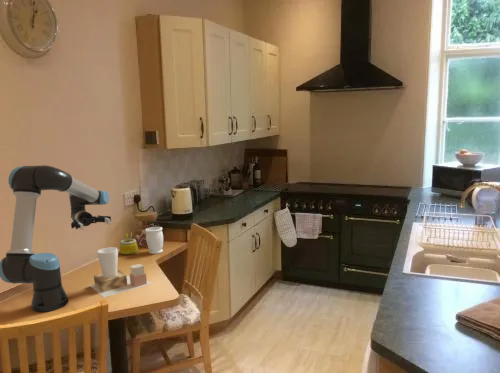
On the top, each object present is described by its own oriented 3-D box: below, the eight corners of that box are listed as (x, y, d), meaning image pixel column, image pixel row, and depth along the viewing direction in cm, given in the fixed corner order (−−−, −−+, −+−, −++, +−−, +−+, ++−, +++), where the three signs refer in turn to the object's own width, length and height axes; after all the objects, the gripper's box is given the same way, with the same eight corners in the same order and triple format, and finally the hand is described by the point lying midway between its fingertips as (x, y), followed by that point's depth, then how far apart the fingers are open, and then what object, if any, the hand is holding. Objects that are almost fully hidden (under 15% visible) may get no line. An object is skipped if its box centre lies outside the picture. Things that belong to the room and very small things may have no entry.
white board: (103, 300, 199) (103, 297, 199) (90, 288, 215) (90, 285, 215) (152, 286, 213) (152, 283, 213) (136, 276, 229) (136, 273, 229)
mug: (133, 255, 266) (131, 236, 264) (117, 255, 268) (115, 236, 266) (142, 249, 278) (140, 231, 276) (127, 249, 280) (125, 231, 278)
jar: (160, 254, 264) (158, 230, 262) (144, 254, 266) (142, 230, 264) (167, 249, 274) (165, 226, 272) (151, 249, 276) (149, 226, 274)
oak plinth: (102, 292, 205) (101, 281, 205) (94, 285, 215) (93, 275, 214) (127, 285, 212) (126, 275, 212) (118, 278, 222) (117, 269, 221)
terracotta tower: (135, 286, 210) (133, 268, 208) (130, 283, 214) (128, 266, 213) (146, 283, 213) (145, 265, 212) (142, 280, 218) (140, 263, 216)
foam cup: (96, 279, 209) (93, 252, 207) (107, 272, 218) (104, 247, 216) (113, 279, 207) (110, 253, 205) (124, 272, 215) (121, 247, 213)
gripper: (107, 220, 244) (121, 227, 227) (60, 229, 230) (71, 236, 213) (106, 207, 243) (119, 213, 226) (58, 215, 229) (69, 221, 212)
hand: (96, 224), depth 219 cm, fingers open, 13 cm apart
